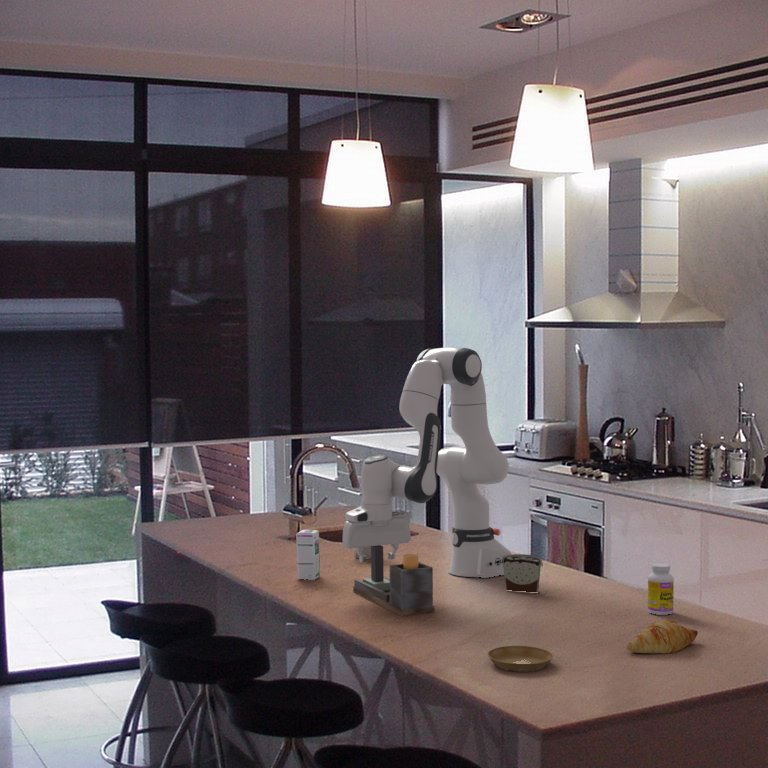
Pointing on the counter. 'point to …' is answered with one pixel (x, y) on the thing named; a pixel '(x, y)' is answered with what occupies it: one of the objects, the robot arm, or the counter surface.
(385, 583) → the carriage
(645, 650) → the croissant
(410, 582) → the rail
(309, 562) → the syrup box
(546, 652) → the plant saucer
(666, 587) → the supplement bottle
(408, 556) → the button
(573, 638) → the counter surface
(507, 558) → the food container
